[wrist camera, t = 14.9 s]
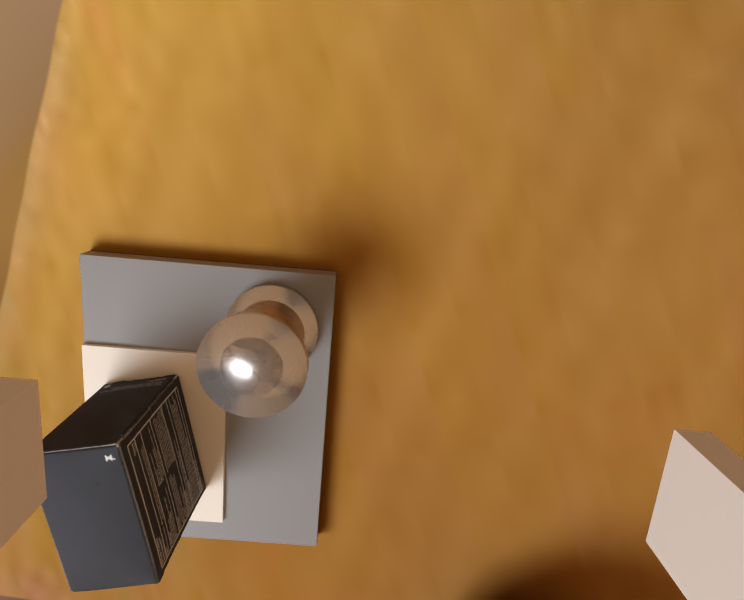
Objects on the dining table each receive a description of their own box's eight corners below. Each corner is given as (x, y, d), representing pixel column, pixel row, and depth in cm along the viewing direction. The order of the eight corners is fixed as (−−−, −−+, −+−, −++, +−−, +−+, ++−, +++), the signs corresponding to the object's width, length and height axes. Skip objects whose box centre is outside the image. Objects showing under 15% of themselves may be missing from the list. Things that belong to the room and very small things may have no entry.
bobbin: (321, 287, 42) (310, 318, 34) (315, 373, 43) (304, 421, 36) (228, 279, 41) (196, 309, 34) (226, 366, 43) (195, 413, 36)
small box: (98, 382, 43) (15, 453, 33) (180, 371, 43) (121, 439, 33) (132, 498, 46) (65, 597, 36) (209, 489, 46) (163, 585, 36)
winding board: (336, 271, 43) (335, 277, 41) (317, 534, 49) (315, 549, 47) (89, 250, 42) (76, 255, 40) (102, 519, 49) (91, 533, 47)
